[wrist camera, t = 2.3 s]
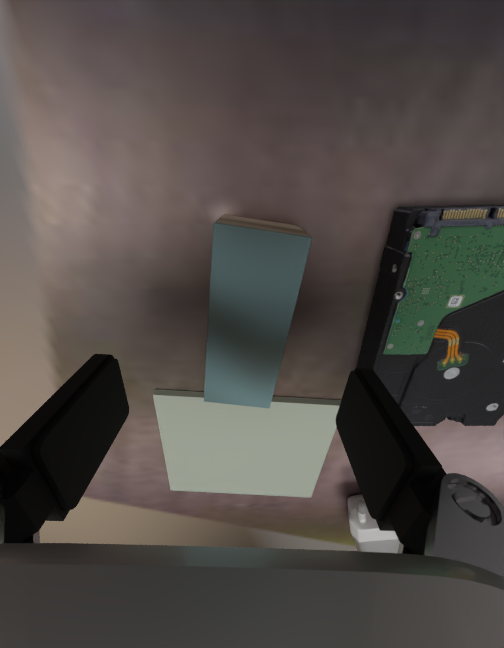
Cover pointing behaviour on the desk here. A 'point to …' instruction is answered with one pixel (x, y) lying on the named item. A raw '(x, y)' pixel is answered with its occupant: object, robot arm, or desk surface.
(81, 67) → the desk surface
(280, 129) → the desk surface
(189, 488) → the mat
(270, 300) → the teal-faced wooden block
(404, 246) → the disk drive
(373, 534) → the power adapter
